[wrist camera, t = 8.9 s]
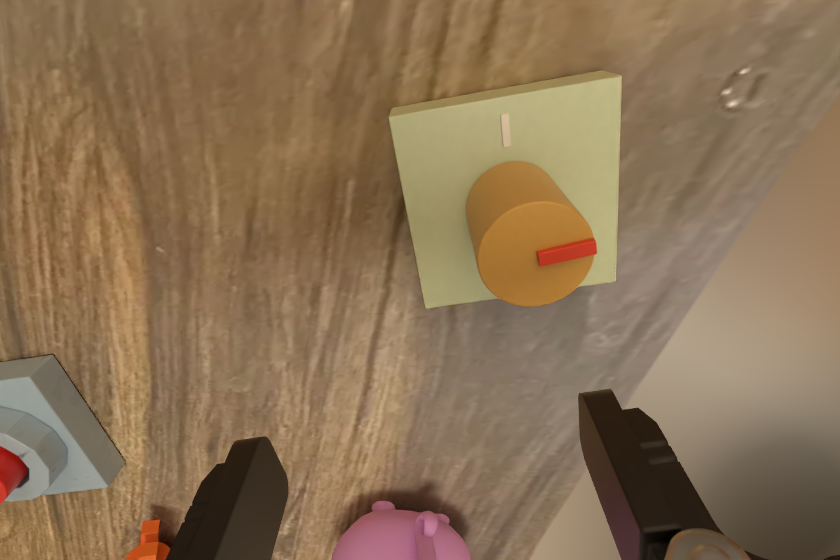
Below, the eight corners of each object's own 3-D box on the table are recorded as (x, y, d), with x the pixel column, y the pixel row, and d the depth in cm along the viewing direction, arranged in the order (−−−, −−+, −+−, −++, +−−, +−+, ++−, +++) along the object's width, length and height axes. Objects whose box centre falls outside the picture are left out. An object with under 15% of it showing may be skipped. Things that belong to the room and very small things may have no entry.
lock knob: (476, 257, 24) (490, 321, 19) (456, 174, 22) (466, 221, 17) (564, 237, 23) (603, 297, 18) (552, 149, 21) (592, 190, 16)
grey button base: (-61, 370, 31) (-122, 415, 27) (53, 354, 30) (5, 398, 27) (26, 474, 36) (-18, 524, 32) (126, 462, 35) (92, 511, 31)
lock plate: (391, 107, 23) (387, 117, 21) (602, 69, 22) (623, 75, 20) (425, 286, 28) (425, 310, 25) (600, 260, 27) (617, 283, 24)
